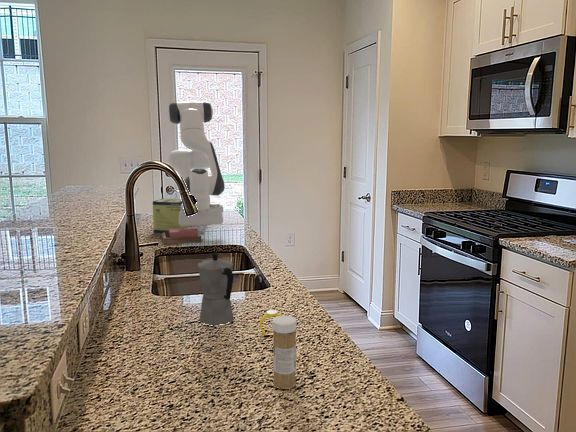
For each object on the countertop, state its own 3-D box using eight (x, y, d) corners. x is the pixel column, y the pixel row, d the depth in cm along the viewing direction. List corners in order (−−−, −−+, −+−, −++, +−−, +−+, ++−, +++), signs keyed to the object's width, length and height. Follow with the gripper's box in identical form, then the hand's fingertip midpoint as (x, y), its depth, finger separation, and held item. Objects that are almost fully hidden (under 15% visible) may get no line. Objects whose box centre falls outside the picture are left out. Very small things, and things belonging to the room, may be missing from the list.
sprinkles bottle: (278, 377, 94) (278, 313, 92) (299, 381, 93) (300, 316, 90) (269, 388, 90) (268, 321, 88) (291, 393, 89) (291, 325, 86)
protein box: (183, 234, 228) (181, 202, 225) (153, 232, 231) (151, 201, 228) (191, 229, 238) (190, 199, 235) (163, 228, 241) (161, 198, 238)
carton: (169, 239, 219) (168, 228, 218) (195, 237, 222) (195, 227, 221) (170, 243, 210) (170, 232, 209) (198, 241, 214) (197, 230, 213)
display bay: (162, 237, 221) (162, 231, 220) (197, 234, 226) (197, 229, 225) (164, 244, 206) (163, 238, 206) (201, 241, 211) (201, 236, 211)
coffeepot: (189, 316, 126) (187, 250, 123) (221, 308, 131) (219, 245, 128) (215, 336, 113) (213, 263, 110) (249, 327, 119) (248, 257, 116)
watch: (261, 339, 113) (259, 315, 111) (260, 334, 115) (258, 311, 114) (286, 335, 114) (284, 312, 112) (284, 331, 116) (282, 308, 115)
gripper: (221, 202, 222) (222, 231, 224) (177, 204, 216) (178, 234, 218) (224, 204, 216) (225, 234, 218) (178, 206, 210) (179, 237, 212)
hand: (201, 234), depth 218 cm, fingers closed
